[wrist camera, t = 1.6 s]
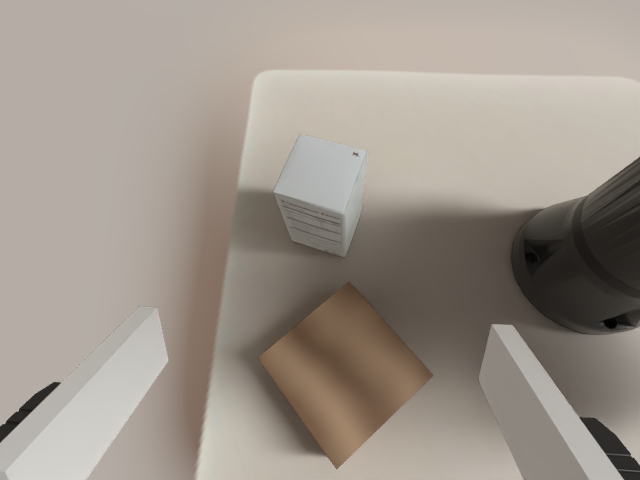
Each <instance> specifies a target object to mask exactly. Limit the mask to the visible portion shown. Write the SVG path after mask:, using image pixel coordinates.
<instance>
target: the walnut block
mask: <svg viewBox="0 0 640 480" xmlns="http://www.w3.org/2000/svg"><path fill="white" fill-rule="evenodd" d="M258 359H259V360H260V362H261V363H262V365H263V366H264V367H265V369H266V370H267V372H268V373H269V374H270V376H271V377H272V379H273V380H274V382H275V383H276V384H277V386H278V387H279V389H280V390H281V391H282V393H283V394H284V396H285V397H286V399H287V400H288V401H289V403H290V404H291V406H292V407H293V408H294V410H295V411H296V413H297V414H298V416H299V417H300V418H301V420H302V421H303V423H304V424H305V425H306V427H307V428H308V430H309V431H310V432H311V434H312V435H313V437H314V438H315V440H316V441H317V442H318V444H319V445H320V447H321V448H322V449H323V451H324V452H325V454H326V455H327V457H328V458H329V459H330V461H331V462H332V464H333V465H334V466H335V468H336V469H338V468H339V467H340V466H341V465H342V464H343V463H344V462H345V461H346V460H347V459H348V458H349V457H350V456H351V455H352V454H353V453H354V452H355V451H356V450H357V449H358V448H359V447H360V446H361V445H362V444H363V443H364V442H365V441H366V440H367V439H368V438H369V437H371V436H372V435H373V434H374V433H375V432H376V431H377V430H378V429H379V428H380V427H381V426H382V425H383V424H384V423H385V422H386V421H387V420H388V419H389V418H390V417H391V416H392V415H393V414H394V413H395V412H396V411H397V410H398V409H399V408H400V407H401V406H402V405H403V404H404V403H406V402H407V401H408V400H409V399H410V398H411V397H412V396H413V395H414V394H415V393H416V392H417V391H418V390H419V389H420V388H421V387H422V386H423V385H424V384H425V383H426V382H427V381H428V380H429V379H430V378H431V377H432V376H433V374H432V373H431V372H430V371H429V370H428V369H427V368H426V367H425V366H424V364H423V363H422V362H421V361H420V360H419V359H418V358H417V357H416V355H415V354H414V353H413V352H412V351H411V350H410V349H409V348H408V347H407V345H406V344H405V343H404V342H403V341H402V340H401V339H400V338H399V336H398V335H397V334H396V333H395V332H394V331H393V330H392V329H391V328H390V326H389V325H388V324H387V323H386V322H385V321H384V320H383V319H382V318H381V316H380V315H379V314H378V313H377V312H376V311H375V310H374V309H373V307H372V306H371V305H370V304H369V303H368V302H367V301H366V300H365V299H364V297H363V296H362V295H361V294H360V293H359V292H358V291H357V290H356V288H355V287H354V286H353V285H352V284H351V283H350V282H348V283H346V284H345V285H344V286H343V287H342V288H341V289H339V290H338V291H337V292H336V293H335V294H333V295H332V296H331V297H330V298H329V299H327V300H326V301H325V302H324V303H323V304H321V305H320V306H319V307H318V308H317V309H315V310H314V311H313V312H312V313H311V314H309V315H308V316H307V317H306V318H305V319H303V320H302V321H301V322H300V323H299V324H297V325H296V326H295V327H294V328H293V329H292V330H290V331H289V332H288V333H287V334H286V335H284V336H283V337H282V338H281V339H280V340H278V341H277V342H276V343H275V344H274V345H272V346H271V347H270V348H269V349H268V350H266V351H265V352H264V353H263V354H262V355H260V356H259V357H258Z"/></svg>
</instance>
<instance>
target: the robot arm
mask: <svg viewBox="0 0 640 480" xmlns="http://www.w3.org/2000/svg"><path fill="white" fill-rule="evenodd" d="M512 266H513V271H514V274H515V277H516V280H517V282H518V284H519V286H520V288H521V289H522V291H523V293H524V294H525V296H526V297H527V298H528V299H529V301H530V302H531V303H532V304H533V305H534V306H535V307H536V308H537V309H538V310H539V311H540V312H541V313H543V314H544V315H545V316H547V317H548V318H549V319H551V320H553V321H554V322H556V323H558V324H560V325H562V326H564V327H566V328H569V329H571V330H574V331H578V332H581V333H586V334H596V335H604V334H612V333H618V332H624V331H629V330H633V329H635V328H638V327H640V157H639V158H638V159H636V160H635V161H634V162H632V163H631V164H630V165H628V166H627V167H625V168H624V169H623V170H621V171H620V172H619V173H617V174H616V175H615V176H613V177H612V178H610V179H609V180H608V181H606V182H605V183H604V184H602V185H601V186H600V187H598V188H597V189H595V190H594V191H593V192H592V193H590V194H589V195H588V196H584V197H580V198H577V199H573V200H570V201H566V202H562V203H559V204H555V205H552V206H550V207H548V208H546V209H544V210H542V211H540V212H539V213H537V214H536V215H535V216H534V217H532V218H531V219H530V220H529V221H528V222H527V223H525V224H524V226H523V227H522V228H521V229H520V230H519V232H518V234H517V236H516V238H515V240H514V243H513V248H512ZM168 361H169V360H168V355H167V350H166V346H165V341H164V336H163V331H162V327H161V322H160V318H159V313H158V308H157V307H145V306H139V307H138V308H137V309H136V310H135V311H134V312H133V313H132V314H131V315H130V316H129V317H128V318H127V319H126V320H125V321H124V322H123V323H122V324H121V325H120V326H119V327H118V328H117V329H116V330H115V331H114V332H113V333H112V334H111V335H109V336H108V337H107V338H106V340H104V341H103V342H102V343H101V344H100V345H99V346H98V347H97V348H96V349H95V350H94V351H93V352H92V353H91V354H90V355H89V356H88V357H87V358H86V359H85V360H84V361H83V362H82V363H81V364H80V365H79V366H78V367H77V368H76V369H75V370H74V371H73V372H72V373H71V374H70V375H69V376H68V377H67V378H66V379H65V380H64V381H63V382H62V383H59V382H54V383H52V384H50V385H49V386H47V387H46V388H44V389H43V390H41V391H39V392H38V393H36V394H35V395H34V396H33V397H31V399H29V400H28V401H27V402H26V403H25V404H24V405H23V406H22V407H21V408H20V409H19V411H18V412H16V413H14V414H13V415H12V416H11V417H10V418H9V419H8V420H7V421H6V424H3V425H2V426H0V480H86V479H87V478H88V476H89V475H90V473H91V472H92V470H93V469H94V468H95V466H96V465H97V463H98V462H99V460H100V459H101V458H102V456H103V455H104V453H105V452H106V450H107V449H108V447H109V446H110V444H111V443H112V442H113V440H114V439H115V437H116V436H117V434H118V433H119V432H120V430H121V429H122V427H123V426H124V424H125V423H126V421H127V420H128V419H129V417H130V416H131V414H132V413H133V411H134V410H135V409H136V407H137V406H138V404H139V403H140V401H141V400H142V398H143V397H144V396H145V394H146V393H147V391H148V390H149V388H150V387H151V385H152V384H153V382H154V381H155V379H156V378H157V377H158V375H159V374H160V372H161V371H162V370H163V368H164V366H165V365H166V364H167V362H168ZM478 380H479V383H480V385H481V387H482V389H483V391H484V394H485V396H486V398H487V400H488V402H489V404H490V407H491V409H492V411H493V413H494V415H495V418H496V420H497V422H498V424H499V426H500V429H501V431H502V433H503V435H504V437H505V439H506V442H507V444H508V446H509V448H510V450H511V453H512V455H513V457H514V459H515V461H516V464H517V466H518V468H519V470H520V472H521V475H522V477H523V479H524V480H640V465H639V464H638V463H637V461H636V460H635V459H634V458H632V457H631V454H630V452H629V451H628V450H627V449H626V447H625V446H624V445H623V444H622V442H621V441H620V440H619V439H618V437H617V436H616V435H615V434H614V433H613V432H611V431H610V430H609V429H608V428H607V427H605V426H604V425H603V424H602V423H600V422H599V421H598V420H597V419H596V418H583V417H578V415H577V414H576V413H575V411H574V410H573V408H572V407H571V406H570V404H569V403H568V401H567V400H566V399H565V397H564V396H563V394H562V393H561V392H560V390H559V389H558V387H557V386H556V385H555V383H554V382H553V381H552V379H551V378H550V376H549V375H548V374H547V372H546V371H545V369H544V368H543V367H542V365H541V364H540V362H539V361H538V360H537V358H536V357H535V356H534V354H533V353H532V351H531V350H530V349H529V347H528V346H527V344H526V343H525V342H524V340H523V339H522V337H521V336H520V335H519V333H518V332H517V330H516V329H515V328H514V326H513V325H503V324H491V328H490V332H489V337H488V341H487V345H486V349H485V354H484V358H483V362H482V366H481V371H480V375H479V379H478Z"/></svg>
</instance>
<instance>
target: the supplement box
mask: <svg viewBox="0 0 640 480" xmlns="http://www.w3.org/2000/svg"><path fill="white" fill-rule="evenodd" d="M367 155H368V151H366V150H362V149H358V148H354V147H350V146H347V145H343V144H339V143H335V142H331V141H327V140H323V139H319V138H315V137H311V136H307V135H302V134H300V135H299V136H298V138H297V141H296V143H295V145H294V147H293V149H292V151H291V153H290V156H289V158H288V160H287V162H286V164H285V166H284V169H283V171H282V173H281V175H280V177H279V180H278V182H277V184H276V186H275V188H274V190H273V193H274V196H275V198H276V201H277V204H278V206H279V209H280V212H281V214H282V217H283V219H284V222H285V224H286V227H287V230H288V232H289V235H290V237H291V240H292V241H294V242H297V243H300V244H303V245H307V246H310V247H313V248H316V249H319V250H322V251H325V252H328V253H332V254H335V255H338V256H341V257H345V256H346V254H347V251H348V249H349V246H350V243H351V241H352V238H353V235H354V232H355V229H356V226H357V223H358V221H359V218H360V215H361V212H362V205H363V195H364V185H365V176H366V165H367Z"/></svg>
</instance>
